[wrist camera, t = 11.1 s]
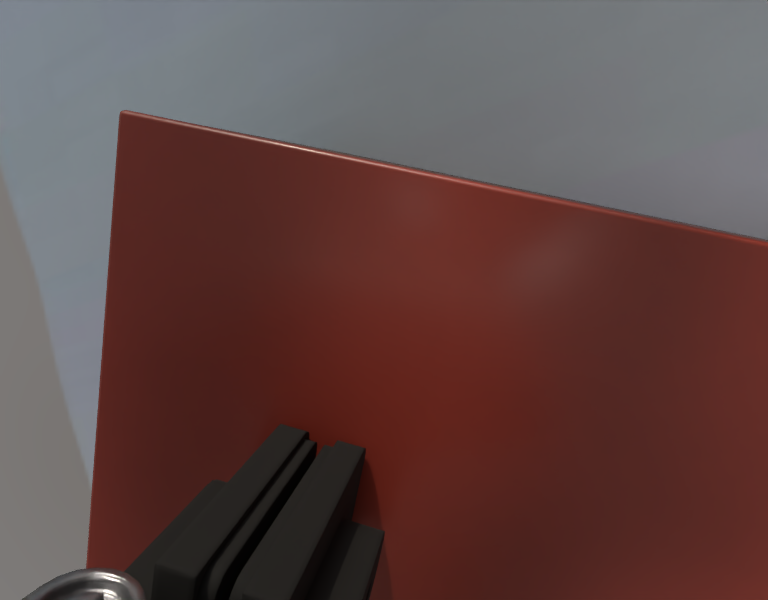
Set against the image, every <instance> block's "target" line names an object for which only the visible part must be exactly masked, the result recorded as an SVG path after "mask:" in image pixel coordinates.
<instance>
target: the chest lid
mask: <svg viewBox="0 0 768 600" xmlns="http://www.w3.org/2000/svg"><path fill="white" fill-rule="evenodd" d="M280 424H283V425H287V426H290V427H294V428H297V429H301V430H304V431H308V432H309V440H311V441H314V442H317V452H316V457H317V455H318V454H319V452H320V450H321V449H322V447H323V446H324V445H328V446H331V447H333V446H334V445H335V443H336V442H337V440H339V441H342V442H346V443H349V444H353V445H356V446H360V447H363V448H366V454H365V460H364V464H363V469H362V474H361V479H360V483H359V488H358V493H357V498H356V502H355V507H354V512H353V516H352V521H353V522H357V523H360V524H363V525H366V526H370V527H373V528H376V529H379V530H382V531H385V536H384V541H383V545H382V550H381V554H380V558H379V563H378V567H377V571H376V575H375V579H374V583H373V587H372V591H371V595H370V598H369V600H768V242H765V241H761V240H756V239H751V238H746V237H741V236H736V235H731V234H727V233H722V232H717V231H712V230H707V229H702V228H697V227H692V226H688V225H683V224H678V223H673V222H668V221H663V220H658V219H654V218H649V217H644V216H639V215H634V214H629V213H624V212H620V211H615V210H610V209H605V208H600V207H595V206H590V205H586V204H581V203H576V202H571V201H566V200H561V199H556V198H552V197H547V196H542V195H537V194H532V193H527V192H522V191H518V190H513V189H508V188H503V187H498V186H493V185H488V184H484V183H479V182H474V181H469V180H464V179H459V178H454V177H449V176H445V175H440V174H435V173H430V172H425V171H420V170H415V169H411V168H406V167H401V166H396V165H391V164H386V163H381V162H377V161H372V160H367V159H362V158H357V157H352V156H347V155H343V154H338V153H333V152H328V151H323V150H318V149H313V148H309V147H304V146H299V145H294V144H289V143H284V142H279V141H275V140H270V139H265V138H260V137H255V136H250V135H245V134H241V133H236V132H231V131H226V130H221V129H216V128H211V127H206V126H202V125H197V124H192V123H187V122H182V121H177V120H172V119H168V118H163V117H158V116H153V115H148V114H143V113H138V112H133V111H128V110H124V111H121V112H120V116H119V129H118V143H117V157H116V170H115V184H114V197H113V211H112V225H111V238H110V252H109V265H108V279H107V293H106V306H105V320H104V333H103V347H102V360H101V374H100V388H99V401H98V415H97V428H96V442H95V456H94V469H93V483H92V496H91V511H90V524H89V525H90V526H89V538H88V551H87V564H86V569H87V568H94V567H99V568H112V569H116V570H119V571H122V572H124V571H125V570H126V569H127V568H128V567H129V566H130V565H131V564H132V563H133V562H134V560H135V559H136V558H137V557H138V556H139V555H140V554H141V553H142V552H143V551H144V550H145V549H146V548H147V547H148V546H149V545H150V544H151V543H152V542H153V541H154V540H155V539H156V538H157V536H158V535H159V534H160V533H161V532H162V531H163V530H164V529H165V528H166V527H167V526H168V525H169V524H170V523H171V522H172V521H173V520H174V519H175V518H176V517H177V516H178V515H179V514H180V512H181V511H182V510H183V509H184V508H185V507H186V506H187V505H188V504H189V503H190V502H191V501H192V500H193V499H194V498H195V497H196V496H197V495H198V494H199V493H200V492H201V491H202V490H203V488H204V487H205V486H206V485H207V484H209V483H210V482H211V481H212V480H216V479H218V480H221V481H224V482H228V481H229V480H230V479H231V478H232V477H233V476H234V475H235V473H236V472H237V471H238V470H239V469H240V468H241V467H242V466H243V465H244V463H245V462H246V461H247V460H248V459H249V458H250V457H251V456H252V454H253V453H254V452H255V451H256V450H257V449H258V448H259V447H260V446H261V444H262V443H263V442H264V441H265V440H266V439H267V438H268V437H269V436H270V434H271V433H272V432H273V431H274V430H275V429H276V428H277V427H278V426H279V425H280ZM316 457H315V458H316Z"/></svg>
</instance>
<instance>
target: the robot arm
mask: <svg viewBox="0 0 768 600" xmlns="http://www.w3.org/2000/svg"><path fill="white" fill-rule="evenodd" d="M316 452H317V442H314V441H311V440H309V432H308V431H304V430H301V429H297V428H294V427H290V426H287V425H283V424H280V425H279V426H278V427H277V428H276V429H275V430H274V431H273V432H272V433H271V434H270V436H269V437H268V438H267V439H266V440H265V441H264V442H263V443H262V444H261V446H260V447H259V448H258V449H257V450H256V451H255V452H254V453H253V454H252V456H251V457H250V458H249V459H248V460H247V461H246V462H245V463H244V465H243V466H242V467H241V468H240V469H239V470H238V471H237V472H236V473H235V475H234V476H233V477H232V478H231V479H230V480H229V481H228V482H224V481H221V480H218V479H216V480H212V481H211V482H210V483H209V484H207V485H206V486H205V487H204V488H203V490H202V491H201V492H200V493H199V494H198V495H197V496H196V497H195V498H194V499H193V500H192V501H191V502H190V503H189V504H188V505H187V506H186V507H185V508H184V509H183V510H182V511H181V512H180V514H179V515H178V516H177V517H176V518H175V519H174V520H173V521H172V522H171V523H170V524H169V525H168V526H167V527H166V528H165V529H164V530H163V531H162V532H161V533H160V534H159V535H158V536H157V538H156V539H155V540H154V541H153V542H152V543H151V544H150V545H149V546H148V547H147V548H146V549H145V550H144V551H143V552H142V553H141V554H140V555H139V556H138V557H137V558H136V559H135V560H134V562H133V563H132V564H131V565H130V566H129V567H128V568H127V569H126V570H125V571H124V572H122V571H119V570H116V569H112V568H99V567H94V568H87V569H80V570H76V571H72V572H69V573H66V574H64V575H60V576H58V577H56V578H54V579H52V580H51V581H49V582H47V583H45V584H43V585H42V586H40V587H39V588H37V589H36V590H34V591H33V592H32V593H30V594H29V595H27V596H26V597H25V598H23V599H22V600H369V598H370V595H371V591H372V587H373V583H374V579H375V575H376V571H377V567H378V563H379V558H380V554H381V550H382V545H383V541H384V536H385V531H382V530H379V529H376V528H373V527H370V526H366V525H363V524H360V523H357V522H353V521H352V516H353V512H354V507H355V502H356V498H357V493H358V488H359V483H360V479H361V474H362V469H363V464H364V460H365V454H366V448H363V447H360V446H356V445H353V444H349V443H346V442H342V441H339V440H337V442H336V443H335V445H334V446H333V447H331V446H328V445H324V446H323V447H322V449H321V450H320V452H319V454H318V455H317V457H316ZM315 457H316V458H315Z"/></svg>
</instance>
